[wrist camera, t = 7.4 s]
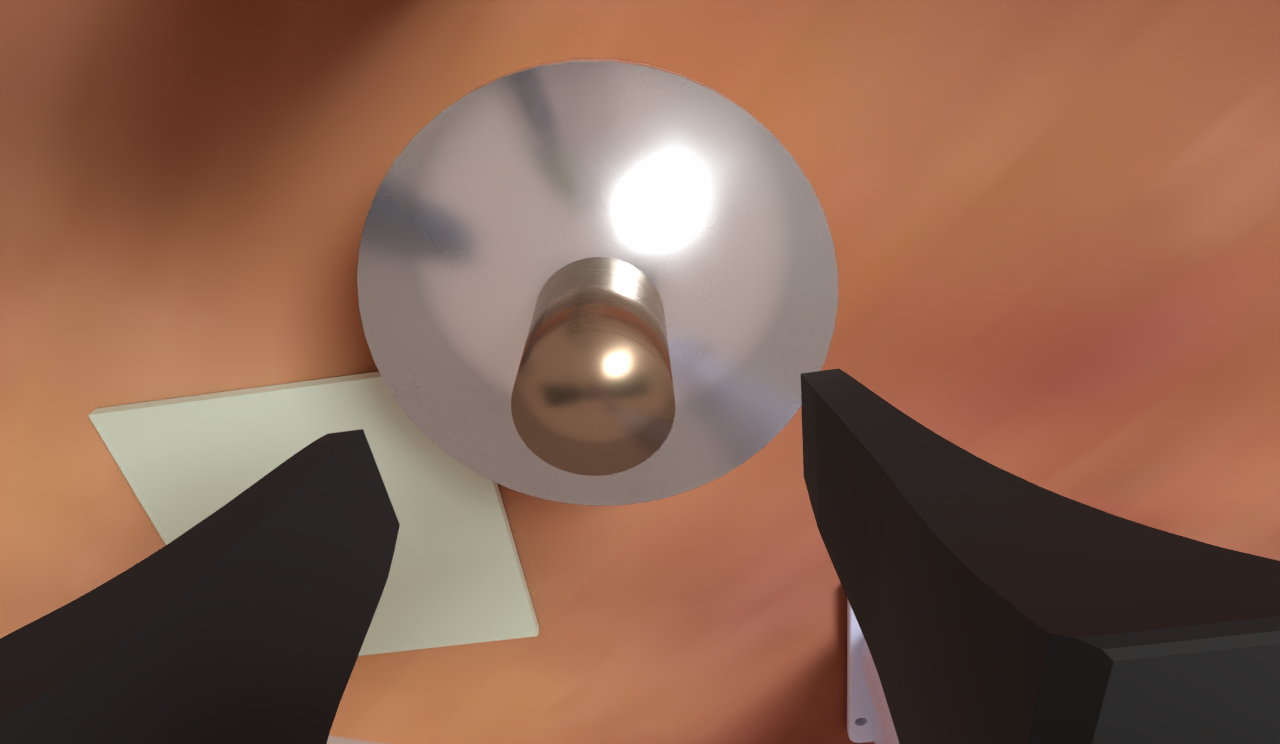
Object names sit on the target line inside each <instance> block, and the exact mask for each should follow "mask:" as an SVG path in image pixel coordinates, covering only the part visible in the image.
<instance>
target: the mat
mask: <svg viewBox="0 0 1280 744" xmlns="http://www.w3.org/2000/svg"><path fill="white" fill-rule="evenodd" d="M88 416H89V418H90V419H91V421H92V423H93V424H94V426H95V428H96V429H97V431H98V433H99V434H100V436H101V438H102V439H103V441H104V443H105V444H106V446H107V448H108V449H109V451H110V453H111V454H112V456H113V458H114V459H115V461H116V463H117V464H118V466H119V468H120V469H121V471H122V473H123V474H124V476H125V478H126V479H127V481H128V483H129V484H130V486H131V488H132V489H133V491H134V493H135V494H136V496H137V498H138V499H139V501H140V503H141V504H142V506H143V508H144V509H145V511H146V513H147V514H148V516H149V518H150V519H151V521H152V523H153V524H154V526H155V528H156V529H157V531H158V533H159V534H160V536H161V538H162V539H163V541H164V543H165V544H166V545H167V544H169V543H170V542H172V541H173V540H175V539H176V538H178V537H179V536H181V535H182V534H183V533H185V532H186V531H188V530H189V529H191V528H192V527H194V526H195V525H197V524H198V523H200V522H201V521H202V520H204V519H205V518H207V517H208V516H210V515H211V514H213V513H214V512H216V511H217V510H219V509H220V508H221V507H223V506H224V505H226V504H227V503H228V502H230V501H231V500H232V499H234V498H235V497H237V496H238V495H239V494H241V493H242V492H243V491H245V490H246V489H248V488H249V487H250V486H252V485H253V484H254V483H256V482H257V481H259V480H260V479H261V478H263V477H264V476H265V475H267V474H268V473H269V472H271V471H272V470H274V469H275V468H276V467H278V466H279V465H280V464H282V463H283V462H285V461H286V460H287V459H289V458H290V457H292V456H293V455H294V454H296V453H297V452H299V451H300V450H302V449H303V448H305V447H306V446H308V445H309V444H311V443H312V442H314V441H315V440H317V439H319V438H321V437H322V436H324V435H326V434H328V433H336V432H344V431H352V430H360V429H363V430H364V433H365V436H366V438H367V441H368V443H369V446H370V449H371V451H372V454H373V456H374V459H375V462H376V464H377V467H378V469H379V472H380V475H381V477H382V480H383V482H384V485H385V488H386V490H387V493H388V495H389V498H390V501H391V503H392V506H393V508H394V511H395V514H396V516H397V519H398V521H399V524H400V526H399V531H398V536H397V541H396V546H395V551H394V555H393V559H392V563H391V567H390V571H389V576H388V579H387V582H386V585H385V587H384V590H383V593H382V596H381V598H380V601H379V603H378V606H377V609H376V611H375V614H374V617H373V619H372V622H371V624H370V627H369V629H368V632H367V634H366V637H365V639H364V642H363V645H362V647H361V650H360V652H359V655H358V656H363V655H372V654H381V653H390V652H399V651H408V650H417V649H426V648H435V647H444V646H453V645H462V644H471V643H480V642H489V641H498V640H507V639H516V638H525V637H534V636H538V632H539V626H538V622H537V619H536V615H535V612H534V609H533V605H532V602H531V598H530V595H529V591H528V588H527V584H526V581H525V577H524V574H523V571H522V567H521V564H520V560H519V557H518V553H517V550H516V546H515V543H514V540H513V536H512V533H511V529H510V526H509V522H508V519H507V515H506V512H505V509H504V505H503V502H502V498H501V495H500V491H499V488H498V484H497V483H495V482H493V481H490V480H488V479H486V478H485V477H483V476H481V475H479V474H477V473H476V472H474V471H472V470H470V469H468V468H467V467H465V466H463V465H462V464H461V463H459V462H458V461H456V460H455V459H454V458H452V457H451V456H449V455H448V454H447V453H445V452H444V451H442V450H441V449H440V448H439V447H438V446H437V445H436V444H434V443H433V442H432V441H431V440H430V439H429V438H428V437H427V436H426V435H424V434H423V433H422V432H421V431H420V430H419V428H418V427H417V426H416V425H415V424H414V423H413V422H412V420H411V419H410V418H409V417H408V416H407V415H406V414H405V412H404V411H403V410H402V409H401V407H400V406H399V404H398V403H397V401H396V400H395V398H394V397H393V395H392V394H391V392H390V391H389V389H388V388H387V386H386V384H385V382H384V380H383V378H382V376H381V374H380V372H379V371H378V372H371V373H363V374H356V375H348V376H340V377H333V378H325V379H317V380H310V381H302V382H295V383H287V384H279V385H272V386H264V387H256V388H249V389H241V390H234V391H226V392H218V393H211V394H203V395H195V396H188V397H180V398H173V399H165V400H157V401H150V402H142V403H134V404H127V405H119V406H112V407H104V408H96V409H95V410H94V411H93V412H91V413H90V414H89V415H88Z"/></svg>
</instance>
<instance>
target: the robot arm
mask: <svg viewBox="0 0 1280 744" xmlns="http://www.w3.org/2000/svg"><path fill="white" fill-rule="evenodd" d="M801 402H802V432H803V463H804V478H805V482H806V486H807V490H808V494H809V497H810V501H811V505H812V508H813V512H814V515H815V519H816V522H817V526H818V529H819V532H820V534H821V537H822V539H823V541H824V544H825V546H826V549H827V551H828V553H829V556H830V558H831V561H832V563H833V565H834V568H835V570H836V572H837V575H838V577H839V580H840V582H841V584H842V587H843V589H844V591H845V594H846V596H847V732H848V736H849V739H850V740H851V741H852V742H855V743H865V742H874V743H875V744H1280V561H1277V560H1273V559H1268V558H1264V557H1260V556H1255V555H1251V554H1247V553H1242V552H1238V551H1234V550H1229V549H1225V548H1221V547H1217V546H1214V545H1210V544H1206V543H1203V542H1199V541H1196V540H1193V539H1189V538H1186V537H1182V536H1179V535H1175V534H1172V533H1168V532H1165V531H1162V530H1158V529H1155V528H1151V527H1148V526H1145V525H1142V524H1139V523H1136V522H1133V521H1130V520H1127V519H1124V518H1121V517H1118V516H1115V515H1112V514H1109V513H1106V512H1104V511H1101V510H1098V509H1096V508H1093V507H1090V506H1088V505H1085V504H1082V503H1079V502H1077V501H1074V500H1071V499H1069V498H1066V497H1063V496H1061V495H1059V494H1056V493H1054V492H1051V491H1049V490H1046V489H1044V488H1042V487H1039V486H1037V485H1035V484H1032V483H1030V482H1028V481H1026V480H1024V479H1022V478H1020V477H1017V476H1015V475H1013V474H1011V473H1009V472H1007V471H1004V470H1002V469H1000V468H998V467H996V466H994V465H992V464H990V463H988V462H986V461H984V460H982V459H980V458H978V457H976V456H974V455H973V454H971V453H969V452H967V451H965V450H964V449H962V448H960V447H958V446H957V445H955V444H953V443H951V442H950V441H948V440H946V439H944V438H942V437H941V436H939V435H937V434H936V433H934V432H933V431H931V430H929V429H928V428H926V427H924V426H923V425H921V424H920V423H918V422H916V421H915V420H913V419H912V418H910V417H909V416H907V415H906V414H904V413H903V412H901V411H900V410H898V409H897V408H895V407H894V406H892V405H891V404H889V403H888V402H886V401H885V400H884V399H882V398H881V397H879V396H878V395H876V394H875V393H874V392H872V391H871V390H869V389H868V388H866V387H865V386H864V385H862V384H861V383H859V382H858V381H857V380H855V379H854V378H852V377H851V376H849V375H848V374H846V373H845V372H843V371H842V370H840V369H833V370H825V371H817V372H809V373H801ZM399 526H400V524H399V521H398V519H397V516H396V514H395V511H394V508H393V506H392V503H391V501H390V498H389V495H388V493H387V490H386V488H385V485H384V482H383V480H382V477H381V475H380V472H379V469H378V467H377V464H376V462H375V459H374V456H373V454H372V451H371V449H370V446H369V443H368V441H367V438H366V436H365V433H364V430H363V429H360V430H352V431H344V432H336V433H328V434H326V435H324V436H322V437H321V438H319V439H317V440H315V441H314V442H312V443H311V444H309V445H308V446H306V447H305V448H303V449H302V450H300V451H299V452H297V453H296V454H294V455H293V456H292V457H290V458H289V459H287V460H286V461H285V462H283V463H282V464H280V465H279V466H278V467H276V468H275V469H274V470H272V471H271V472H269V473H268V474H267V475H265V476H264V477H263V478H261V479H260V480H259V481H257V482H256V483H254V484H253V485H252V486H250V487H249V488H248V489H246V490H245V491H243V492H242V493H241V494H239V495H238V496H237V497H235V498H234V499H232V500H231V501H230V502H228V503H227V504H226V505H224V506H223V507H221V508H220V509H219V510H217V511H216V512H214V513H213V514H211V515H210V516H208V517H207V518H205V519H204V520H202V521H201V522H200V523H198V524H197V525H195V526H194V527H192V528H191V529H189V530H188V531H186V532H185V533H183V534H182V535H181V536H179V537H178V538H176V539H175V540H173V541H172V542H170V543H169V544H167V545H166V546H164V547H163V548H161V549H160V550H158V551H157V552H155V553H154V554H152V555H151V556H149V557H147V558H146V559H144V560H143V561H141V562H139V563H138V564H136V565H134V566H133V567H131V568H130V569H128V570H126V571H125V572H123V573H121V574H120V575H118V576H116V577H114V578H113V579H111V580H109V581H108V582H106V583H104V584H102V585H101V586H99V587H97V588H96V589H94V590H92V591H90V592H89V593H87V594H85V595H83V596H81V597H80V598H78V599H76V600H74V601H72V602H70V603H69V604H67V605H65V606H63V607H61V608H59V609H57V610H55V611H53V612H51V613H49V614H47V615H45V616H43V617H41V618H39V619H38V620H36V621H34V622H32V623H30V624H28V625H26V626H24V627H22V628H20V629H18V630H16V631H14V632H12V633H10V634H8V635H7V636H5V637H3V638H1V639H0V744H326V743H327V740H328V736H329V732H330V729H331V726H332V723H333V720H334V718H335V715H336V712H337V709H338V706H339V703H340V700H341V698H342V695H343V693H344V690H345V688H346V685H347V683H348V680H349V678H350V675H351V672H352V670H353V667H354V665H355V662H356V660H357V657H358V655H359V652H360V650H361V647H362V645H363V642H364V639H365V637H366V634H367V632H368V629H369V627H370V624H371V622H372V619H373V617H374V614H375V611H376V609H377V606H378V603H379V601H380V598H381V596H382V593H383V590H384V587H385V585H386V582H387V579H388V576H389V571H390V567H391V563H392V559H393V555H394V551H395V546H396V541H397V536H398V531H399Z"/></svg>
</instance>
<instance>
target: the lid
mask: <svg viewBox="0 0 1280 744" xmlns="http://www.w3.org/2000/svg"><path fill="white" fill-rule="evenodd" d="M357 285H358V301H359V310H360V315H361V320H362V325H363V329H364V334H365V337H366V340H367V343H368V346H369V349H370V352H371V354H372V357H373V360H374V363H375V365H376V367H377V369H378V371H379V372H380V374H381V376H382V378H383V380H384V382H385V384H386V386H387V388H388V389H389V391H390V392H391V394H392V395H393V397H394V398H395V400H396V401H397V403H398V404H399V406H400V407H401V409H402V410H403V411H404V412H405V414H406V415H407V416H408V417H409V418H410V419H411V420H412V422H413V423H414V424H415V425H416V426H417V427H418V428H419V430H420V431H421V432H422V433H423V434H424V435H426V436H427V437H428V438H429V439H430V440H431V441H432V442H433V443H434V444H436V445H437V446H438V447H439V448H440V449H441V450H442V451H444V452H445V453H447V454H448V455H449V456H451V457H452V458H454V459H455V460H456V461H458V462H459V463H461V464H462V465H463V466H465V467H467V468H468V469H470V470H472V471H474V472H476V473H477V474H479V475H481V476H483V477H485V478H486V479H488V480H490V481H493V482H495V483H498V484H500V485H502V486H505V487H507V488H509V489H512V490H514V491H518V492H521V493H524V494H527V495H531V496H534V497H537V498H541V499H546V500H551V501H557V502H562V503H568V504H579V505H591V506H605V505H626V504H635V503H643V502H649V501H653V500H658V499H662V498H667V497H671V496H674V495H677V494H680V493H683V492H686V491H689V490H692V489H695V488H698V487H700V486H702V485H704V484H706V483H708V482H711V481H713V480H715V479H717V478H719V477H721V476H723V475H725V474H726V473H728V472H729V471H731V470H733V469H734V468H736V467H738V466H739V465H741V464H743V463H744V462H745V461H747V460H748V459H749V458H751V457H752V456H753V455H754V454H756V453H757V452H758V451H760V450H761V449H762V448H763V447H765V446H766V445H767V444H768V443H769V442H770V441H771V440H772V439H773V438H774V437H775V436H776V435H777V434H778V433H779V432H780V431H781V430H782V429H783V428H784V427H785V426H786V424H787V423H788V422H789V421H790V419H791V418H792V417H793V416H794V414H795V413H796V412H797V411H798V409H799V408H800V407H801V405H802V402H801V373H809V372H817V371H820V370H821V368H822V366H823V364H824V361H825V359H826V356H827V353H828V349H829V346H830V342H831V339H832V335H833V332H834V326H835V319H836V312H837V305H838V271H837V264H836V257H835V250H834V243H833V240H832V237H831V233H830V230H829V227H828V223H827V220H826V216H825V213H824V211H823V209H822V207H821V205H820V203H819V201H818V198H817V196H816V194H815V192H814V190H813V188H812V185H811V184H810V182H809V181H808V179H807V178H806V176H805V175H804V173H803V172H802V170H801V169H800V167H799V165H798V164H797V162H796V161H795V159H794V158H793V157H792V156H791V154H790V153H789V152H788V151H787V150H786V149H785V148H784V147H783V145H782V144H781V143H780V142H779V141H778V140H777V139H776V138H775V136H774V135H773V134H772V133H771V132H770V131H769V130H768V129H767V128H766V127H765V126H764V125H763V124H762V123H761V122H760V121H758V120H757V119H756V118H755V117H754V116H752V115H751V114H750V113H749V112H748V111H747V110H745V109H744V108H743V107H742V106H741V105H740V104H738V103H736V102H735V101H733V100H732V99H730V98H728V97H727V96H725V95H724V94H722V93H721V92H719V91H717V90H716V89H714V88H713V87H711V86H709V85H707V84H704V83H702V82H700V81H698V80H695V79H693V78H691V77H689V76H686V75H684V74H682V73H680V72H676V71H673V70H669V69H666V68H663V67H659V66H656V65H652V64H649V63H644V62H637V61H630V60H623V59H615V58H573V59H566V60H559V61H553V62H546V63H540V64H537V65H533V66H530V67H527V68H523V69H520V70H517V71H513V72H510V73H507V74H505V75H503V76H501V77H499V78H497V79H494V80H492V81H490V82H488V83H486V84H484V85H482V86H479V87H477V88H476V89H474V90H473V91H471V92H470V93H468V94H467V95H465V96H464V97H462V98H461V99H459V100H458V101H456V102H455V103H453V104H452V105H450V106H449V107H447V108H446V109H444V110H443V111H442V112H440V113H439V114H438V115H437V116H436V117H435V118H434V119H433V120H432V121H430V122H429V123H428V124H427V125H426V126H425V127H424V128H423V129H422V130H420V131H419V132H418V133H417V134H416V135H415V136H414V137H413V139H412V140H411V141H410V142H409V144H408V145H407V146H406V147H405V148H404V150H403V151H402V152H401V153H400V155H399V156H398V157H397V158H396V159H395V161H394V162H393V164H392V166H391V168H390V169H389V171H388V173H387V174H386V176H385V178H384V179H383V181H382V183H381V184H380V186H379V188H378V190H377V193H376V195H375V198H374V200H373V203H372V205H371V208H370V210H369V213H368V215H367V217H366V222H365V226H364V230H363V234H362V239H361V243H360V247H359V259H358V271H357Z"/></svg>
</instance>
